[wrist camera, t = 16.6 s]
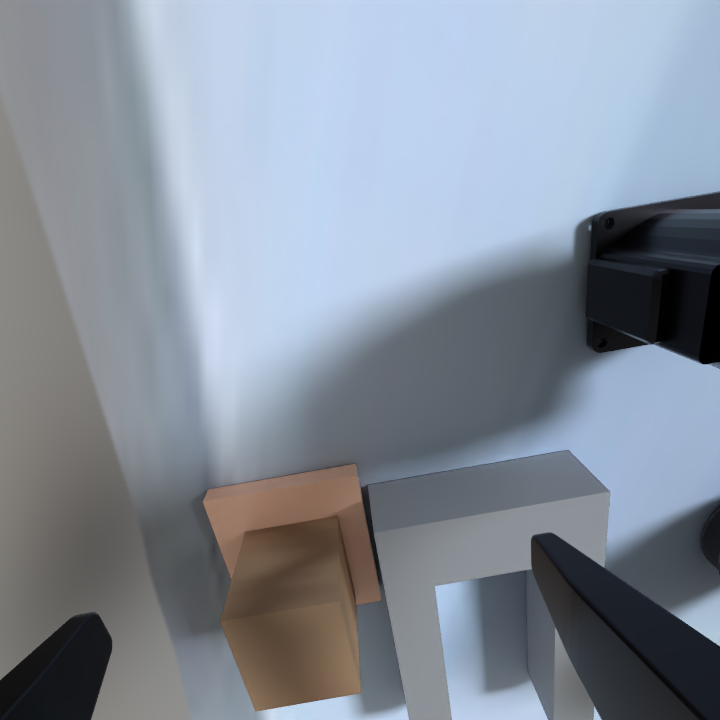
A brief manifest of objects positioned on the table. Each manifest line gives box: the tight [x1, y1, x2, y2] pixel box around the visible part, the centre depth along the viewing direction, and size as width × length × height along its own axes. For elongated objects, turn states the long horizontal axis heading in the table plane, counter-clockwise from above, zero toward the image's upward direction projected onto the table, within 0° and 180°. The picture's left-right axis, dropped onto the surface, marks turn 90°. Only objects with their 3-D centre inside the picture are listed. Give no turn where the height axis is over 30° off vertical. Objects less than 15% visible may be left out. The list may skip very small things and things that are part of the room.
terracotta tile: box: [203, 464, 382, 605], centre depth 22 cm, size 8×9×1 cm
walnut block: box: [220, 516, 361, 711], centre depth 20 cm, size 5×6×5 cm
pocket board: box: [368, 450, 610, 720], centre depth 23 cm, size 11×18×4 cm, turn 9°
